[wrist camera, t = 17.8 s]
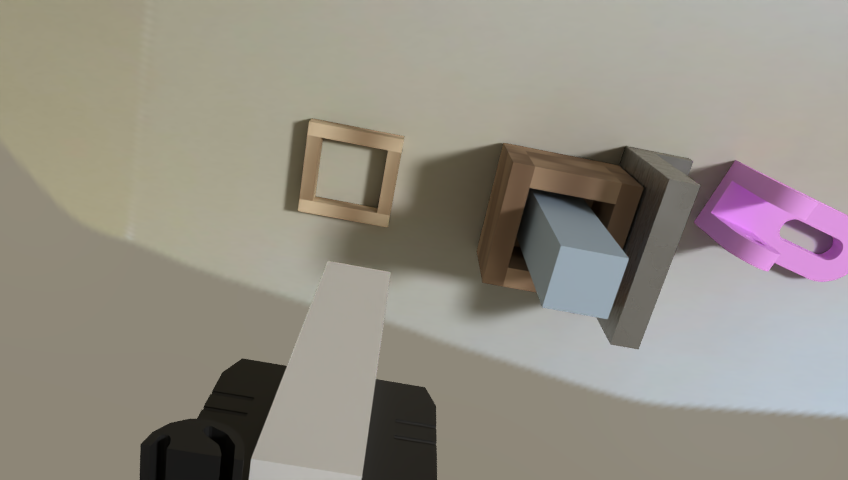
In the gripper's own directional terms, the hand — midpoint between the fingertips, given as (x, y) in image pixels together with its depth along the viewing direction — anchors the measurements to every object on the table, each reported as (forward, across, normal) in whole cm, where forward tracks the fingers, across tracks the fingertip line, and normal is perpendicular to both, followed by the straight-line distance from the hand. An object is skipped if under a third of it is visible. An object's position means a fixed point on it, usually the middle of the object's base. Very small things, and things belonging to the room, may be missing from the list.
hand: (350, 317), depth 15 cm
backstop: (+32, +19, -6) cm, 38 cm away
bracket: (+33, +31, -4) cm, 45 cm away
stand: (+32, -3, -6) cm, 33 cm away
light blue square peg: (+31, +12, -6) cm, 34 cm away
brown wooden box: (+32, +12, -6) cm, 35 cm away
